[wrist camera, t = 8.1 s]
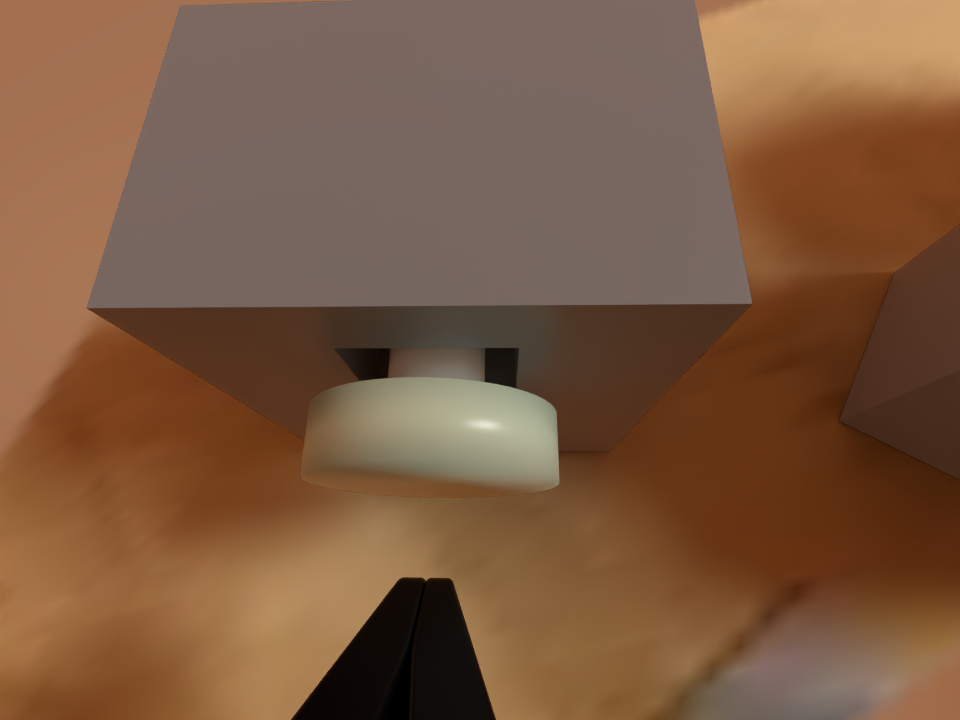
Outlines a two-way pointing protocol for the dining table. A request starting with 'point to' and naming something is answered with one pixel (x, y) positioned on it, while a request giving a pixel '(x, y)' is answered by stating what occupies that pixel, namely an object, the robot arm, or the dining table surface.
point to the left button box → (431, 202)
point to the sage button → (431, 432)
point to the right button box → (915, 362)
